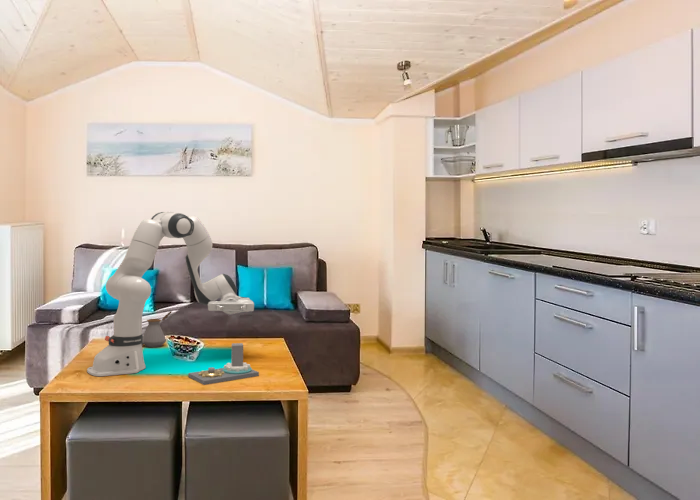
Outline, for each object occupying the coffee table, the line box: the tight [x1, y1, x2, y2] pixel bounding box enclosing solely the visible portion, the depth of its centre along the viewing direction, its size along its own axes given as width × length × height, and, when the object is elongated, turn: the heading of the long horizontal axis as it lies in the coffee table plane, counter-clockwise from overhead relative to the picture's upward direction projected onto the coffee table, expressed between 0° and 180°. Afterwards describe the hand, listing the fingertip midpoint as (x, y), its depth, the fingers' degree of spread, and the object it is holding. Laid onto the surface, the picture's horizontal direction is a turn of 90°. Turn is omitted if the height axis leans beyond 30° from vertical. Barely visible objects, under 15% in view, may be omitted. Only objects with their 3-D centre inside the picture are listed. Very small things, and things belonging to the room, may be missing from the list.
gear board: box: [187, 366, 260, 386], centre depth 245 cm, size 24×14×4 cm, turn 129°
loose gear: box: [223, 342, 251, 372], centre depth 248 cm, size 10×10×10 cm
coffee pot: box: [143, 311, 174, 348], centre depth 303 cm, size 21×12×15 cm, turn 164°
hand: (231, 308), depth 266 cm, fingers open, 8 cm apart
